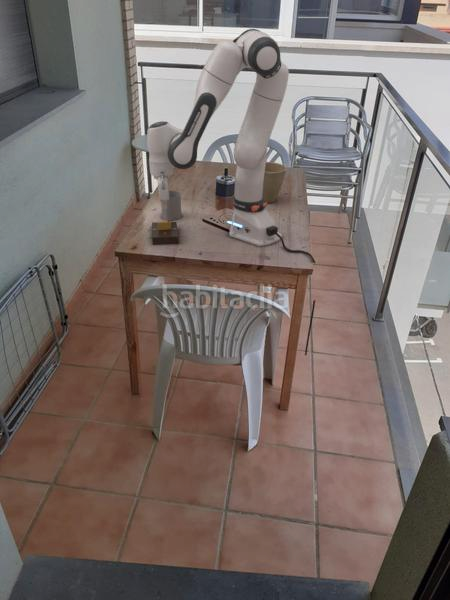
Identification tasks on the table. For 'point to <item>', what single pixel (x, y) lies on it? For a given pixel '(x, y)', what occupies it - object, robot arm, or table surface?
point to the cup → (172, 206)
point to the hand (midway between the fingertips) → (164, 203)
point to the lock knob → (164, 225)
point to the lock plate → (165, 234)
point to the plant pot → (272, 181)
